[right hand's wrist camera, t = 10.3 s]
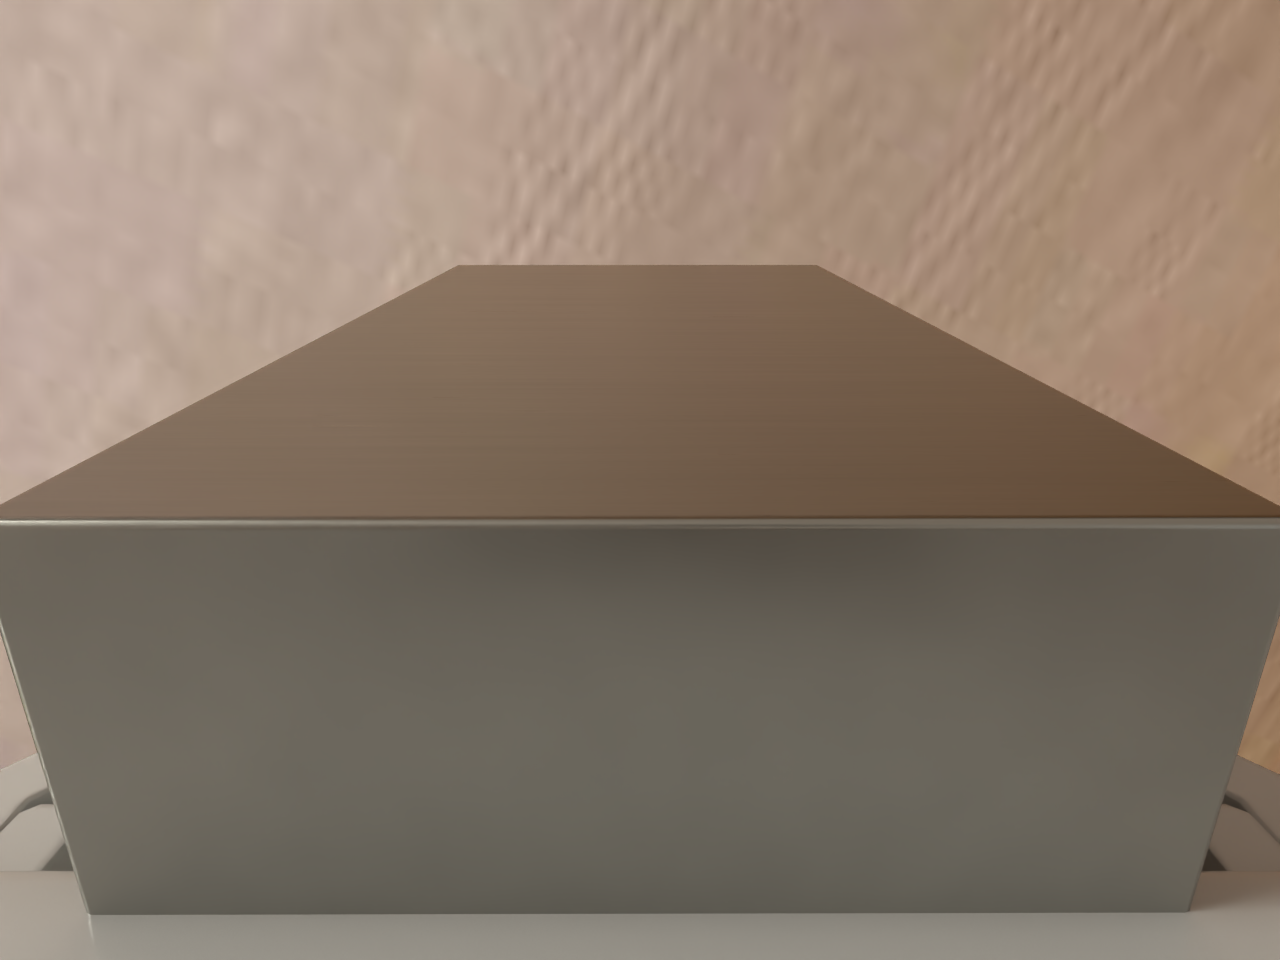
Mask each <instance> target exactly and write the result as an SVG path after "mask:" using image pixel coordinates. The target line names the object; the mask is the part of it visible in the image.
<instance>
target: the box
mask: <svg viewBox="0 0 1280 960" xmlns="http://www.w3.org/2000/svg"><path fill="white" fill-rule="evenodd" d="M1279 616H1280V506H1279V505H1277V504H1275V503H1273V502H1271V501H1269V500H1267V499H1265V498H1263V497H1261V496H1259V495H1257V494H1256V493H1254V492H1252V491H1250V490H1248V489H1246V488H1244V487H1242V486H1240V485H1238V484H1236V483H1234V482H1232V481H1231V480H1229V479H1227V478H1225V477H1223V476H1221V475H1219V474H1217V473H1215V472H1213V471H1211V470H1209V469H1207V468H1206V467H1204V466H1202V465H1200V464H1198V463H1196V462H1194V461H1192V460H1190V459H1188V458H1186V457H1184V456H1183V455H1181V454H1179V453H1177V452H1175V451H1173V450H1171V449H1169V448H1167V447H1165V446H1163V445H1161V444H1159V443H1158V442H1156V441H1154V440H1152V439H1150V438H1148V437H1146V436H1144V435H1142V434H1140V433H1138V432H1136V431H1134V430H1133V429H1131V428H1129V427H1127V426H1125V425H1123V424H1121V423H1119V422H1117V421H1115V420H1113V419H1111V418H1109V417H1108V416H1106V415H1104V414H1102V413H1100V412H1098V411H1096V410H1094V409H1092V408H1090V407H1088V406H1086V405H1085V404H1083V403H1081V402H1079V401H1077V400H1075V399H1073V398H1071V397H1069V396H1067V395H1065V394H1063V393H1061V392H1060V391H1058V390H1056V389H1054V388H1052V387H1050V386H1048V385H1046V384H1044V383H1042V382H1040V381H1038V380H1036V379H1035V378H1033V377H1031V376H1029V375H1027V374H1025V373H1023V372H1021V371H1019V370H1017V369H1015V368H1013V367H1012V366H1010V365H1008V364H1006V363H1004V362H1002V361H1000V360H998V359H996V358H994V357H992V356H990V355H988V354H987V353H985V352H983V351H981V350H979V349H977V348H975V347H973V346H971V345H969V344H967V343H965V342H963V341H962V340H960V339H958V338H956V337H954V336H952V335H950V334H948V333H946V332H944V331H942V330H940V329H938V328H937V327H935V326H933V325H931V324H929V323H927V322H925V321H923V320H921V319H919V318H917V317H915V316H914V315H912V314H910V313H908V312H906V311H904V310H902V309H900V308H898V307H896V306H894V305H892V304H890V303H889V302H887V301H885V300H883V299H881V298H879V297H877V296H875V295H873V294H871V293H869V292H867V291H865V290H864V289H862V288H860V287H858V286H856V285H854V284H852V283H850V282H848V281H846V280H844V279H842V278H841V277H839V276H837V275H835V274H833V273H831V272H829V271H827V270H825V269H823V268H821V267H819V266H817V265H458V266H456V267H454V268H452V269H450V270H448V271H446V272H445V273H443V274H441V275H439V276H437V277H435V278H433V279H431V280H429V281H427V282H425V283H423V284H422V285H420V286H418V287H416V288H414V289H412V290H410V291H408V292H406V293H404V294H402V295H401V296H399V297H397V298H395V299H393V300H391V301H389V302H387V303H385V304H383V305H381V306H379V307H378V308H376V309H374V310H372V311H370V312H368V313H366V314H364V315H362V316H360V317H358V318H357V319H355V320H353V321H351V322H349V323H347V324H345V325H343V326H341V327H339V328H337V329H336V330H334V331H332V332H330V333H328V334H326V335H324V336H322V337H320V338H318V339H316V340H314V341H313V342H311V343H309V344H307V345H305V346H303V347H301V348H299V349H297V350H295V351H293V352H292V353H290V354H288V355H286V356H284V357H282V358H280V359H278V360H276V361H274V362H272V363H270V364H269V365H267V366H265V367H263V368H261V369H259V370H257V371H255V372H253V373H251V374H249V375H248V376H246V377H244V378H242V379H240V380H238V381H236V382H234V383H232V384H230V385H228V386H227V387H225V388H223V389H221V390H219V391H217V392H215V393H213V394H211V395H209V396H207V397H205V398H204V399H202V400H200V401H198V402H196V403H194V404H192V405H190V406H188V407H186V408H184V409H183V410H181V411H179V412H177V413H175V414H173V415H171V416H169V417H167V418H165V419H163V420H162V421H160V422H158V423H156V424H154V425H152V426H150V427H148V428H146V429H144V430H142V431H140V432H139V433H137V434H135V435H133V436H131V437H129V438H127V439H125V440H123V441H121V442H119V443H118V444H116V445H114V446H112V447H110V448H108V449H106V450H104V451H102V452H100V453H98V454H96V455H95V456H93V457H91V458H89V459H87V460H85V461H83V462H81V463H79V464H77V465H75V466H74V467H72V468H70V469H68V470H66V471H64V472H62V473H60V474H58V475H56V476H54V477H53V478H51V479H49V480H47V481H45V482H43V483H41V484H39V485H37V486H35V487H33V488H31V489H30V490H28V491H26V492H24V493H22V494H20V495H18V496H16V497H14V498H12V499H10V500H9V501H7V502H5V503H3V504H1V505H0V633H1V636H2V639H3V643H4V646H5V649H6V652H7V656H8V659H9V662H10V665H11V669H12V672H13V675H14V678H15V682H16V685H17V688H18V691H19V695H20V698H21V701H22V704H23V708H24V711H25V714H26V717H27V721H28V724H29V727H30V730H31V734H32V737H33V740H34V743H35V747H36V750H37V753H38V756H39V760H40V763H41V766H42V769H43V773H44V776H45V779H46V782H47V786H48V789H49V792H50V796H51V799H52V802H53V805H54V809H55V812H56V815H57V818H58V822H59V825H60V828H61V831H62V835H63V838H64V841H65V844H66V848H67V851H68V854H69V857H70V861H71V864H72V867H73V870H74V874H75V877H76V880H77V883H78V887H79V890H80V893H81V896H82V900H83V903H84V906H85V909H86V913H88V914H90V915H307V914H759V913H1185V912H1187V911H1190V907H1191V904H1192V901H1193V897H1194V894H1195V891H1196V888H1197V884H1198V881H1199V878H1200V874H1201V871H1202V868H1203V865H1204V861H1205V858H1206V855H1207V852H1208V848H1209V845H1210V842H1211V838H1212V835H1213V832H1214V829H1215V825H1216V822H1217V819H1218V816H1219V812H1220V809H1221V806H1222V802H1223V799H1224V796H1225V793H1226V789H1227V786H1228V783H1229V779H1230V776H1231V773H1232V770H1233V766H1234V763H1235V760H1236V757H1237V753H1238V750H1239V747H1240V743H1241V740H1242V737H1243V734H1244V730H1245V727H1246V724H1247V721H1248V717H1249V714H1250V711H1251V707H1252V704H1253V701H1254V698H1255V694H1256V691H1257V688H1258V684H1259V681H1260V678H1261V675H1262V671H1263V668H1264V665H1265V662H1266V658H1267V655H1268V652H1269V648H1270V645H1271V642H1272V639H1273V635H1274V632H1275V629H1276V626H1277V622H1278V619H1279Z"/></svg>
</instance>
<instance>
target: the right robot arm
mask: <svg viewBox="0 0 1280 960" xmlns="http://www.w3.org/2000/svg"><path fill="white" fill-rule="evenodd" d="M0 960H1280V775H1279V774H1277V773H1275V772H1273V771H1271V770H1268V769H1266V768H1264V767H1262V766H1260V765H1258V764H1255V763H1253V762H1251V761H1249V760H1247V759H1245V758H1243V757H1240V756H1238V755H1237V757H1236V760H1235V763H1234V766H1233V770H1232V773H1231V776H1230V779H1229V783H1228V786H1227V789H1226V793H1225V796H1224V799H1223V802H1222V806H1221V809H1220V812H1219V816H1218V819H1217V822H1216V825H1215V829H1214V832H1213V835H1212V838H1211V842H1210V845H1209V848H1208V852H1207V855H1206V858H1205V861H1204V865H1203V868H1202V871H1201V874H1200V878H1199V881H1198V884H1197V888H1196V891H1195V894H1194V897H1193V901H1192V904H1191V907H1190V911H1187V912H1185V913H759V914H307V915H90V914H88V913H86V909H85V906H84V903H83V900H82V896H81V893H80V890H79V887H78V883H77V880H76V877H75V874H74V870H73V867H72V864H71V861H70V857H69V854H68V851H67V848H66V844H65V841H64V838H63V835H62V831H61V828H60V825H59V822H58V818H57V815H56V812H55V809H54V805H53V802H52V799H51V796H50V792H49V789H48V786H47V782H46V779H45V776H44V773H43V769H42V766H41V763H40V760H39V756H38V753H35V754H33V755H31V756H29V757H27V758H24V759H22V760H20V761H18V762H16V763H13V764H11V765H9V766H7V767H5V768H3V769H0Z"/></svg>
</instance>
